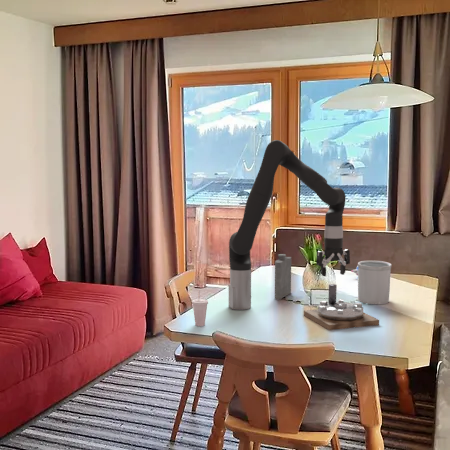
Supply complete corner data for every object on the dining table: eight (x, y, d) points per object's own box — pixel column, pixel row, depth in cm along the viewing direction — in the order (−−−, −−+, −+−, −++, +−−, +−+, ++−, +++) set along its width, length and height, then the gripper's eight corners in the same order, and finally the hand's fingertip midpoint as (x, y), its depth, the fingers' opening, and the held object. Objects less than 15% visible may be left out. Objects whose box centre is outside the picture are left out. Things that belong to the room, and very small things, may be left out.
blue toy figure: (346, 276, 319) (347, 261, 318) (366, 275, 321) (367, 260, 320) (355, 281, 307) (355, 265, 306) (376, 280, 309) (376, 264, 308)
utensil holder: (388, 306, 256) (389, 267, 254) (354, 303, 261) (355, 265, 259) (391, 298, 269) (393, 261, 267) (359, 295, 275) (360, 259, 273)
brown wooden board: (329, 330, 221) (329, 324, 220) (303, 315, 241) (303, 310, 241) (379, 324, 227) (379, 319, 227) (350, 310, 248) (350, 305, 248)
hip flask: (280, 300, 267) (280, 257, 265) (271, 299, 269) (272, 256, 266) (291, 292, 281) (292, 252, 279) (283, 291, 283) (284, 251, 281)
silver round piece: (330, 322, 223) (331, 295, 221) (310, 310, 240) (310, 285, 238) (372, 318, 228) (373, 291, 227) (349, 306, 245) (349, 282, 244)
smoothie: (199, 321, 232) (199, 287, 230) (211, 324, 228) (211, 289, 226) (188, 325, 227) (188, 290, 225) (200, 328, 223) (200, 292, 221)
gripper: (344, 234, 243) (343, 272, 245) (313, 236, 239) (313, 274, 240) (353, 236, 236) (352, 275, 238) (322, 238, 231) (322, 278, 233)
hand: (333, 275), depth 239 cm, fingers open, 8 cm apart
